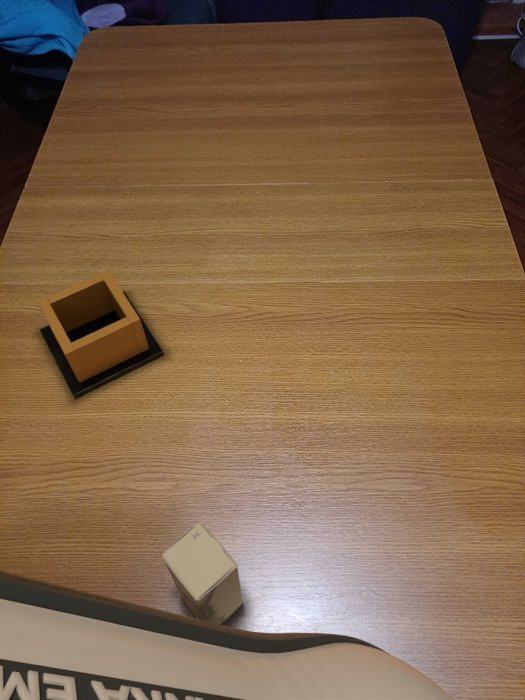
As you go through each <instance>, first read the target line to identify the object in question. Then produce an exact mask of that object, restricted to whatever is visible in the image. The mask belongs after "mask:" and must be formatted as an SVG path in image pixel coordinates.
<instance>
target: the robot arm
mask: <svg viewBox="0 0 525 700" xmlns="http://www.w3.org/2000/svg"><path fill="white" fill-rule="evenodd" d="M0 700H455V699H454V698H453V696H451V695H450V694H449V693H447V691H446V690H444V689H443V688H442V687H441V686H440V685H439V684H437V683H436V682H435V681H434V680H433V679H431V678H430V677H428V676H427V675H426V674H424V673H423V672H422V671H420V670H419V669H417V668H415V667H414V666H412V665H411V664H409V663H407V662H406V661H404V660H402V659H400V658H398V657H396V656H394V655H393V654H391V653H390V652H388V651H386V650H384V649H383V648H380V647H378V646H377V645H374V644H373V643H370V642H368V641H366V640H363V639H361V638H358V637H355V636H350V635H346V634H345V635H344V634H336V633H326V632H325V633H324V632H323V633H322V632H262V631H261V632H260V631H251V630H247V629H242V628H241V629H240V628H236V627H231V626H228V625H223V624H220V625H219V624H215V623H211V622H207V621H203V620H199V619H198V618H195V617H190V616H186V615H183V614H179V613H175V612H171V611H166V610H162V609H158V608H153V607H150V606H147V605H146V606H145V605H141V604H137V603H133V602H130V601H125V600H121V599H117V598H112V597H109V596H104V595H100V594H96V593H92V592H88V591H83V590H80V589H76V588H71V587H68V586H63V585H60V584H56V583H52V582H47V581H45V580H44V581H43V580H39V579H35V578H32V577H27V576H23V575H19V574H15V573H11V572H6V571H2V570H0Z"/></svg>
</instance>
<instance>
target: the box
mask: <svg viewBox="0 0 525 700" xmlns="http://www.w3.org/2000/svg"><path fill="white" fill-rule="evenodd" d="M161 558H162V560H163V562H164V565H165V566H166V568H167V570H168V572H169V574H170V576H171V579H172V580H173V582H174V585H175V586H176V589H177V591H178V593H179V595H180V596H181V598H182V599H183V600H184V602H185V603H186V604H187V607H189V608H190V610H191V612H192V613H193V614H194V615H195V616H196V619H199V620H203V621H207V622H211V623H215V624H219V625H223V623H224V622H225V621H226V620H227V619H228V618H230V616H231V615H233V613H235V612H236V611H237V610H238V609H239V608H240V607H241V606H242V604H243V603H244V601H243V594H242V589H241V582H240V575H239V570H238V564H237V562H236V560H235V559H234V558H233V557H232V556H231V555H230V553H229V552H228V551H227V549H225V548H224V546H223V544H221V543H220V541H219V540H218V539H217V538H216V537H215V536H214V534H212V532H211V531H210V530H209V529H208V528H207V526H205V524H204V523H203V522H201V521H198V522H197V523H195V524H194V525H193V526H192V527H190V528H189V529H188V530H187V531H186V532H185V533H184V534H182V535H181V536H180V537H179V538H178V539H177V540H176V541H175V542H173V543H172V544H171V545H170V546H169V547H168V548H167V549H166V550H165V551H163V552H162V554H161Z"/></svg>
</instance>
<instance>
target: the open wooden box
mask: <svg viewBox="0 0 525 700" xmlns="http://www.w3.org/2000/svg"><path fill="white" fill-rule="evenodd" d="M36 302H37V304H38V307H39V308H40V311H41V312H42V314H43V316H44V318H45V319H46V322H47V324H48V325H46V326H44V327H42V328H40V329H39V331H40V334H41V335H42V338H43V339H44V341H45V343H46V346H47V347H48V349H49V351H50V354H51V355H52V357H53V359H54V361H55V363H56V365H57V367H58V368H59V371H60V373H61V374H62V377H63V378H64V381H65V383H66V385H67V386H68V389H69V390H70V393H71V394H72V396H73V398H74V399H75V400H76V399H78V398H80V397H82V396H84V395H86V394H88V393H90V392H92V391H94V390H96V389H98V388H101V387H102V386H105V385H106V384H108V383H110V382H113V381H115V380H116V379H118V378H121V377H122V376H124V375H127V374H129V373H131V372H133V371H135V370H137V369H138V368H139V369H140V368H141V367H143V366H145V365H147V364H149V363H151V362H153V361H155V360H157V359H159V358H162V357H163V356H164V355H165V352H164V350H163V348H162V347H161V346H160V344H159V343H158V340H157V339H156V338H155V336H154V335H153V333H152V331H151V330H150V328H149V327H148V326H147V324H146V322H145V321H144V319H143V318H142V316H141V315H140V313H139V312H138V310H137V309H136V307H135V305H134V304H133V302H132V301H131V299H130V297H129V296H128V294H127V293H126V292H125V291H123V290H122V288H121V287H120V286H119V284H118V282H117V281H116V279H115V278H114V277H113V275H112V273H111V272H110V270H106V271H104V272H101V273H100V274H97V275H95V276H92V277H90V278H87V279H85V280H83V281H81V282H79V283H76V284H74V285H72V286H69V287H67V288H65V289H62V290H60V291H58V292H56V293H53V294H50V295H49V296H47V297H44V298H42V299H39V300H37V301H36Z"/></svg>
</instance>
